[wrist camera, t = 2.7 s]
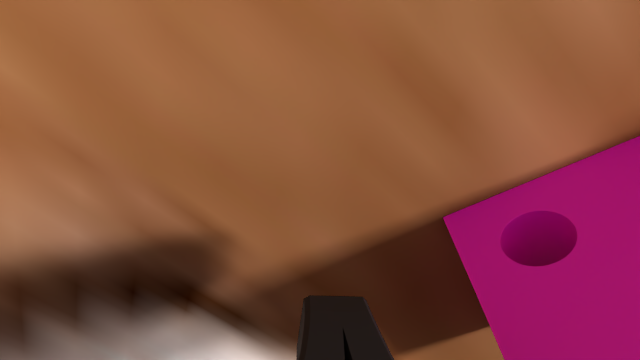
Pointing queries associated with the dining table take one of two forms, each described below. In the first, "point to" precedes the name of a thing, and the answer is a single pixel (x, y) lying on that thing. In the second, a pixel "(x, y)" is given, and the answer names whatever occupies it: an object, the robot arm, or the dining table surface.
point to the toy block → (560, 260)
